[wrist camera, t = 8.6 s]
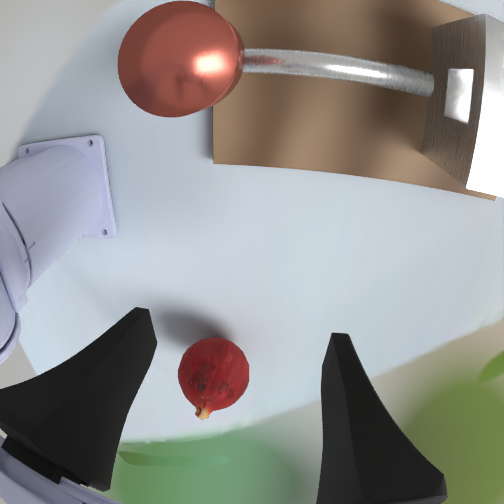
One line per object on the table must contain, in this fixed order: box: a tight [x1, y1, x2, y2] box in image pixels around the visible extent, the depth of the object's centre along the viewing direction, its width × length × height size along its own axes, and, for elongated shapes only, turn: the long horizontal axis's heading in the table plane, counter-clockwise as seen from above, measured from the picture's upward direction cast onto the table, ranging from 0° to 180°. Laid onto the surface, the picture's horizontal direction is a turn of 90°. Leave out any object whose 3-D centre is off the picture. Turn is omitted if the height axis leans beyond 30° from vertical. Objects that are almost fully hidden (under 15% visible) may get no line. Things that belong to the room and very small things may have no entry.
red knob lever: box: [118, 1, 434, 117], centre depth 11 cm, size 12×4×7 cm, turn 88°
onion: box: [178, 337, 249, 420], centre depth 24 cm, size 6×6×8 cm
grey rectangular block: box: [421, 14, 504, 197], centre depth 11 cm, size 2×8×6 cm, turn 178°
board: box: [213, 0, 496, 201], centre depth 14 cm, size 19×12×1 cm, turn 88°
